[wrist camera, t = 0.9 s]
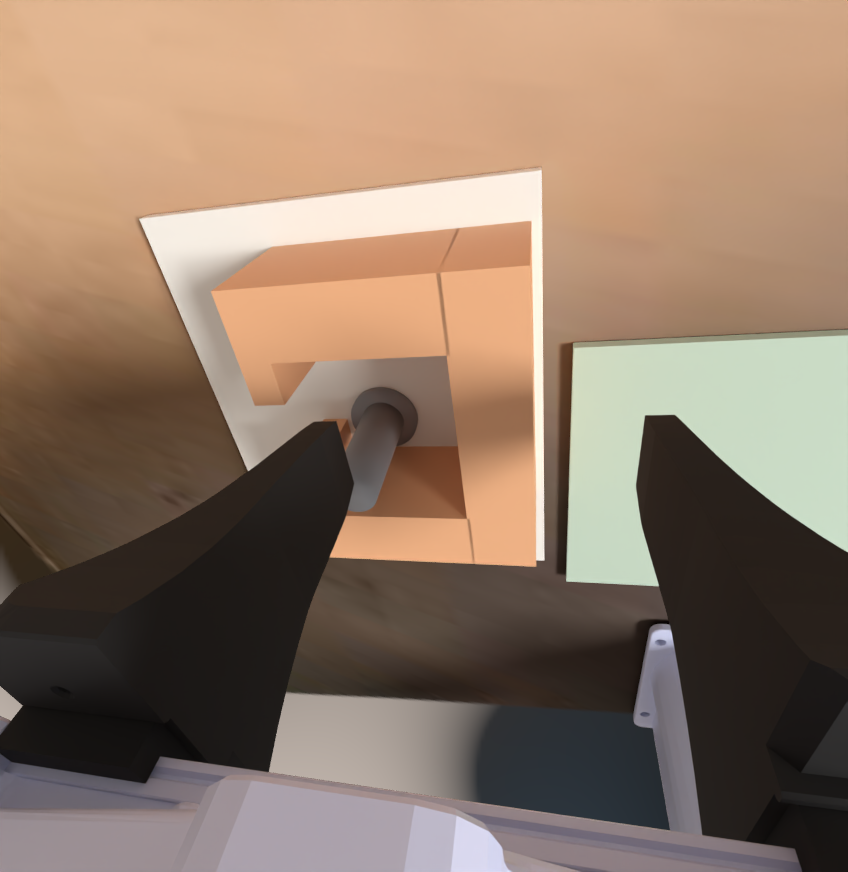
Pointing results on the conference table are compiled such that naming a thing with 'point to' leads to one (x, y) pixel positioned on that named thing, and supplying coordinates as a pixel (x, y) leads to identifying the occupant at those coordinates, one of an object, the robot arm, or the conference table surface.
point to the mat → (705, 433)
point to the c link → (412, 337)
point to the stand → (346, 379)
